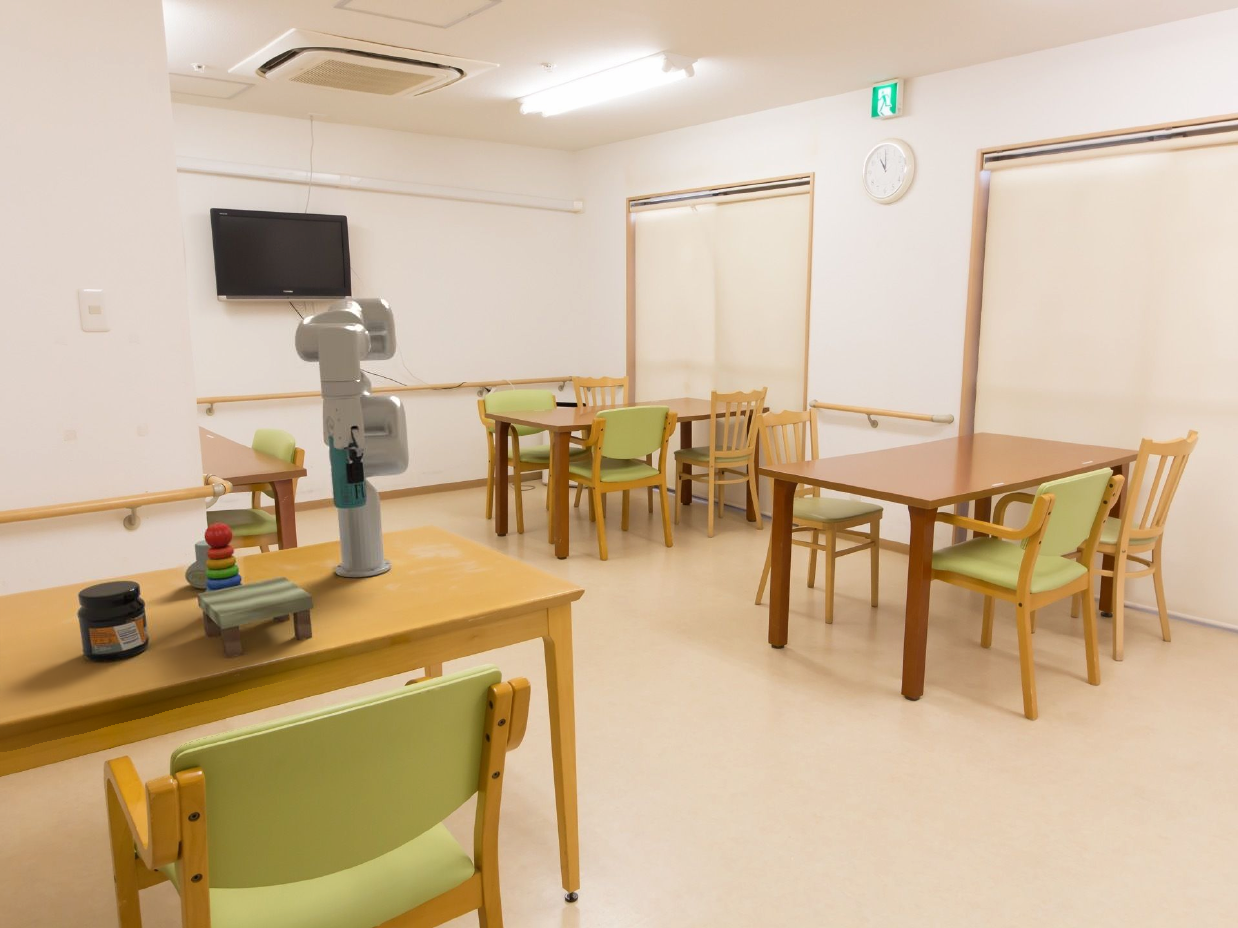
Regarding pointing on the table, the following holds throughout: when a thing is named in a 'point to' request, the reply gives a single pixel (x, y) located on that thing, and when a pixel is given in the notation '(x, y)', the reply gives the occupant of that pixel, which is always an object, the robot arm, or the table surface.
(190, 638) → the table surface
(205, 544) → the grey flask
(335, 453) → the beverage bottle
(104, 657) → the supplement container
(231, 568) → the stacking toy
